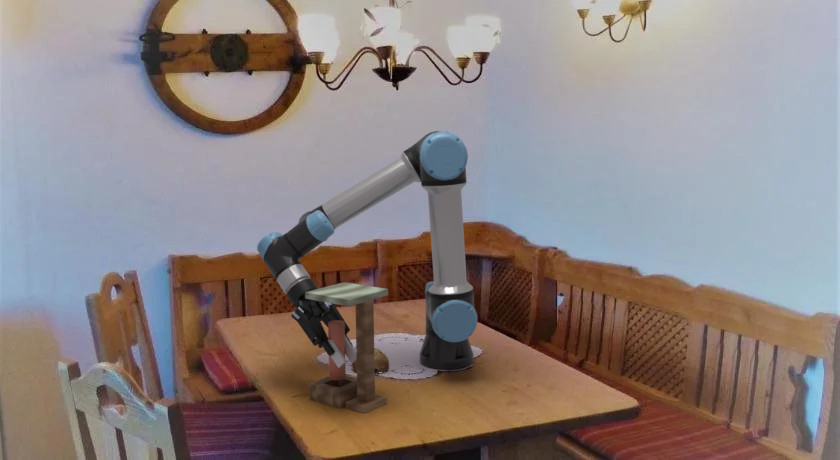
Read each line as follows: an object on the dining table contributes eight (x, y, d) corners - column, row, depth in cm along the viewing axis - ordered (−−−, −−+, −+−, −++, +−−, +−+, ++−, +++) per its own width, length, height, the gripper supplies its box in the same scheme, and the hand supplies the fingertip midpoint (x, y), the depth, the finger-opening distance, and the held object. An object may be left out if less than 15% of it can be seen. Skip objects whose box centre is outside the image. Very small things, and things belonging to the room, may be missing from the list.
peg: (347, 375, 198) (346, 320, 196) (342, 380, 194) (341, 324, 192) (332, 374, 199) (331, 319, 197) (327, 379, 195) (325, 323, 193)
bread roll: (354, 387, 216) (356, 365, 212) (348, 361, 224) (349, 340, 220) (390, 383, 219) (393, 362, 214) (382, 358, 227) (384, 337, 223)
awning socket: (303, 402, 195) (300, 291, 191) (342, 386, 206) (340, 281, 202) (356, 417, 185) (354, 300, 181) (394, 399, 196) (392, 289, 192)
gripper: (315, 289, 210) (363, 362, 202) (266, 301, 196) (316, 379, 189) (329, 272, 206) (379, 345, 198) (280, 283, 192) (332, 362, 185)
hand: (348, 361), depth 194 cm, fingers closed on peg, 4 cm apart
